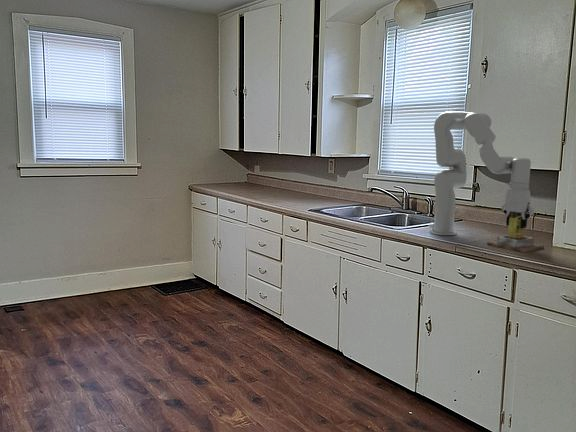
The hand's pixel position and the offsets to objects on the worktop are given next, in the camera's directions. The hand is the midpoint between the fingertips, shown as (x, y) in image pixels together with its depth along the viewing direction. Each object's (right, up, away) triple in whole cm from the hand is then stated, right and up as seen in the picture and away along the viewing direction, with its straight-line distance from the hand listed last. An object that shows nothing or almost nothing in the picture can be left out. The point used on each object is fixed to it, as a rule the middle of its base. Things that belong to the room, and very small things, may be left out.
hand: (516, 226), depth 239 cm
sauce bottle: (0, -7, +1) cm, 7 cm away
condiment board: (0, -9, +1) cm, 9 cm away
